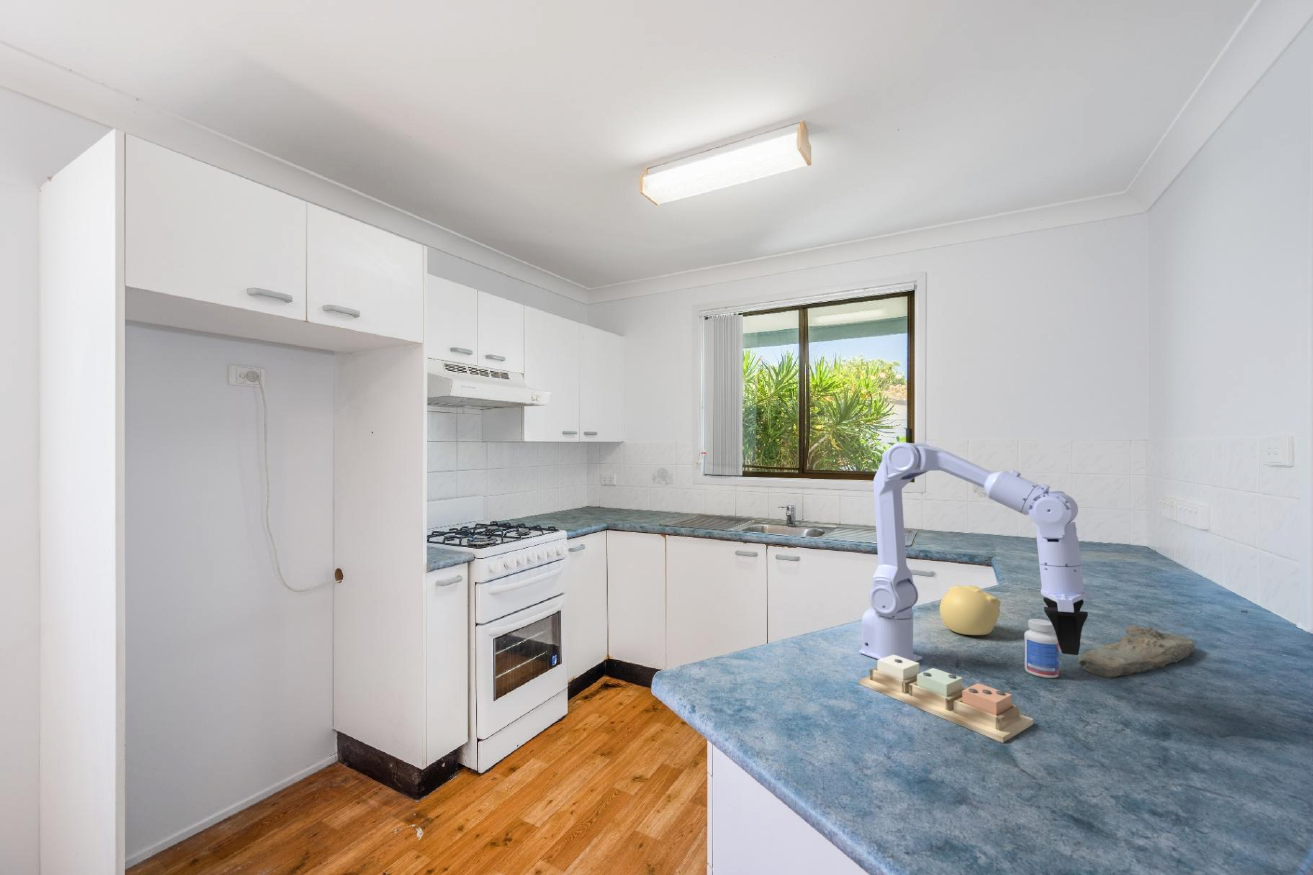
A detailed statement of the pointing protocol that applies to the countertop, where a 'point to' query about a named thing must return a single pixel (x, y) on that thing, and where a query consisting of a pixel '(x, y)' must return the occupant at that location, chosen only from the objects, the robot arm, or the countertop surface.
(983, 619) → the sculpture
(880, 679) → the tile board
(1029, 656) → the pill bottle
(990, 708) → the tile three
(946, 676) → the tile two
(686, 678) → the countertop surface
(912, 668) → the tile one
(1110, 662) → the long grey stone
